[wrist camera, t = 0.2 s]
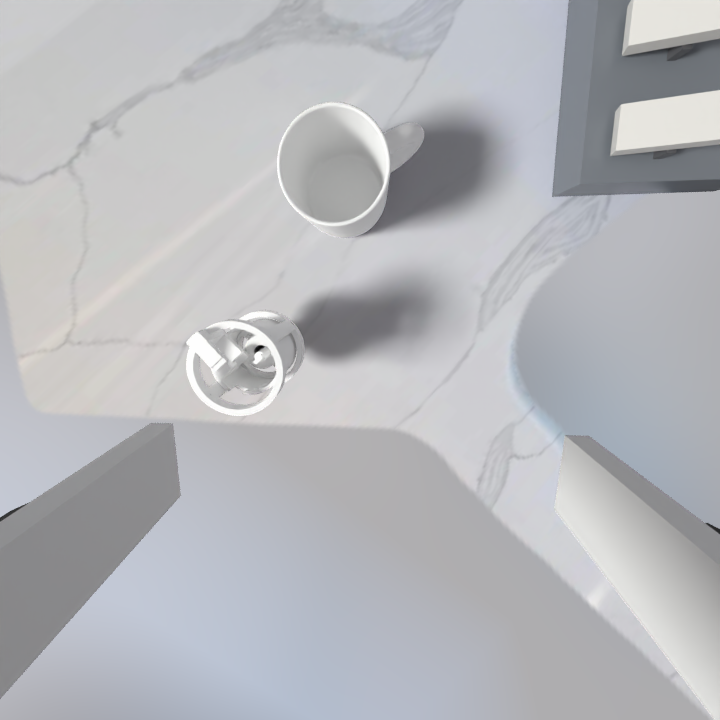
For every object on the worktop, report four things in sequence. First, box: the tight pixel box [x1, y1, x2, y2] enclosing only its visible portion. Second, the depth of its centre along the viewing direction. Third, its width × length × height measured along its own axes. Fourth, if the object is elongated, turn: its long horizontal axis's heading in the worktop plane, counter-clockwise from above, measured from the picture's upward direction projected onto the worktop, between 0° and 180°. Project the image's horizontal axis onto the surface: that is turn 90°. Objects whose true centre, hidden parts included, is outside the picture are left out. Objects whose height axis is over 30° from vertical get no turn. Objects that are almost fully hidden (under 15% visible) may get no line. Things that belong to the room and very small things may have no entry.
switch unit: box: [552, 0, 720, 197], centre depth 30 cm, size 21×15×6 cm
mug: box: [277, 102, 424, 238], centre depth 31 cm, size 12×8×10 cm
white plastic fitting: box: [186, 310, 305, 416], centre depth 33 cm, size 7×7×15 cm
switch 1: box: [622, 0, 720, 56], centre depth 26 cm, size 3×9×1 cm, turn 91°
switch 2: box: [610, 90, 720, 156], centre depth 27 cm, size 3×9×2 cm, turn 91°
